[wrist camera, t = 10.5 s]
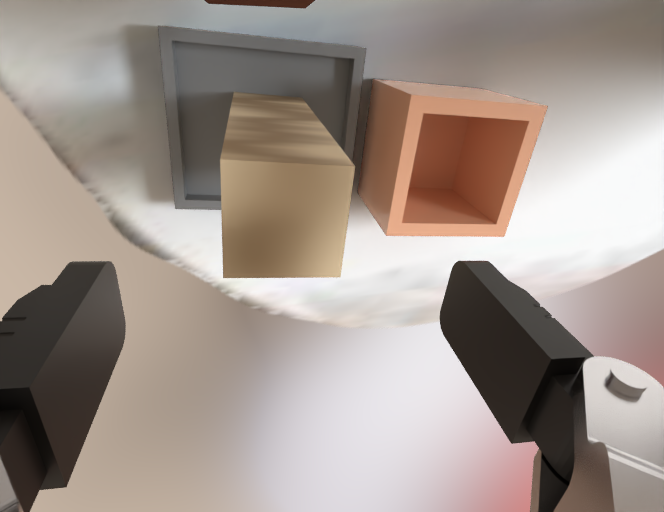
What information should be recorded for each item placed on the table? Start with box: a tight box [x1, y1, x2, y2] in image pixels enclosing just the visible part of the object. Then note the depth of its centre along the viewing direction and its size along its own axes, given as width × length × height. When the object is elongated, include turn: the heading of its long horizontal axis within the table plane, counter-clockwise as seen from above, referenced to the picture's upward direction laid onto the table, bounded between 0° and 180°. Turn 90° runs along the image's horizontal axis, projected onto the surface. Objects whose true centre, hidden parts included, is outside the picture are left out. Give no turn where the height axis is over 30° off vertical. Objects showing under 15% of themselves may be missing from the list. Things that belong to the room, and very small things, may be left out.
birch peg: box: [220, 92, 355, 278], centre depth 19 cm, size 4×4×14 cm
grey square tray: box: [158, 26, 366, 210], centre depth 25 cm, size 11×10×2 cm
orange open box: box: [358, 79, 548, 237], centre depth 25 cm, size 8×8×7 cm
